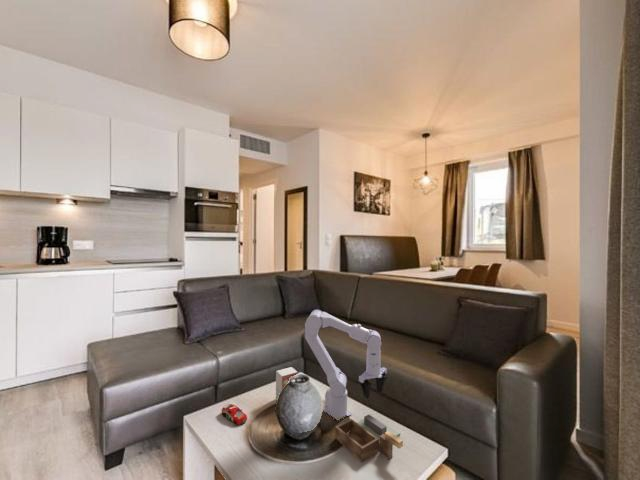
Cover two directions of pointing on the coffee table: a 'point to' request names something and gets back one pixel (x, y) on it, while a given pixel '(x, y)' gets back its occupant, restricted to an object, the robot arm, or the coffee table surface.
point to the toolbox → (362, 441)
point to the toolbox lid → (376, 426)
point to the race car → (234, 414)
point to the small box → (283, 378)
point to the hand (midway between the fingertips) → (373, 394)
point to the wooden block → (393, 439)
